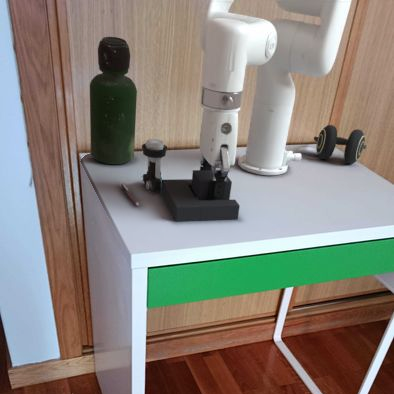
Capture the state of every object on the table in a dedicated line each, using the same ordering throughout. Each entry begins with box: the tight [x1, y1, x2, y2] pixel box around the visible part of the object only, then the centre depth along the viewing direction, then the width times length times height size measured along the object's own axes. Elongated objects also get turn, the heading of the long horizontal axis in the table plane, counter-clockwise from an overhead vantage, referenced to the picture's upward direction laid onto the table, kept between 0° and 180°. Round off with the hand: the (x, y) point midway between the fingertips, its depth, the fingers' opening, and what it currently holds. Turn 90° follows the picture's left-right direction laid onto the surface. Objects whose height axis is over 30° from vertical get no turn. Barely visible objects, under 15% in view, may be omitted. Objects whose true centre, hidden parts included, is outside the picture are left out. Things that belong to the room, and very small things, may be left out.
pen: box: [120, 182, 140, 207], centre depth 105 cm, size 11×1×1 cm, turn 25°
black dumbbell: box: [313, 124, 367, 165], centre depth 138 cm, size 9×15×20 cm
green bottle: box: [89, 36, 138, 165], centre depth 113 cm, size 10×10×25 cm
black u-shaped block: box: [160, 178, 241, 223], centre depth 104 cm, size 13×14×3 cm
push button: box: [141, 138, 168, 194], centre depth 107 cm, size 7×5×10 cm
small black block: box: [191, 169, 233, 200], centre depth 103 cm, size 6×6×4 cm
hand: (210, 191), depth 104 cm, fingers closed on small black block, 6 cm apart
